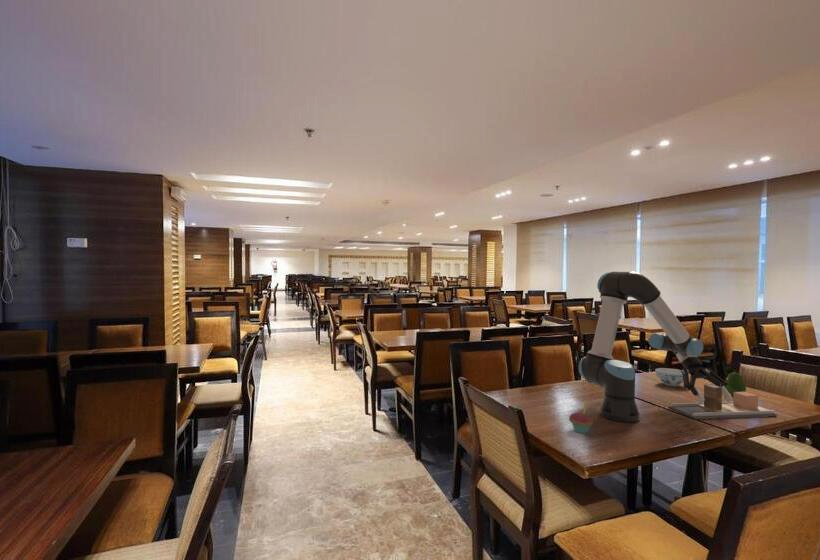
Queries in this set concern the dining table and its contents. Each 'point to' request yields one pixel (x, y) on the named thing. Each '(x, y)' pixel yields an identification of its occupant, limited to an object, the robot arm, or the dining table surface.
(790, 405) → the dining table surface
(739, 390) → the green bumpy rounded piece
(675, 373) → the chinaware
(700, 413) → the board
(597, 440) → the dining table surface
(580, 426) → the cupcake
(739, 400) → the block
